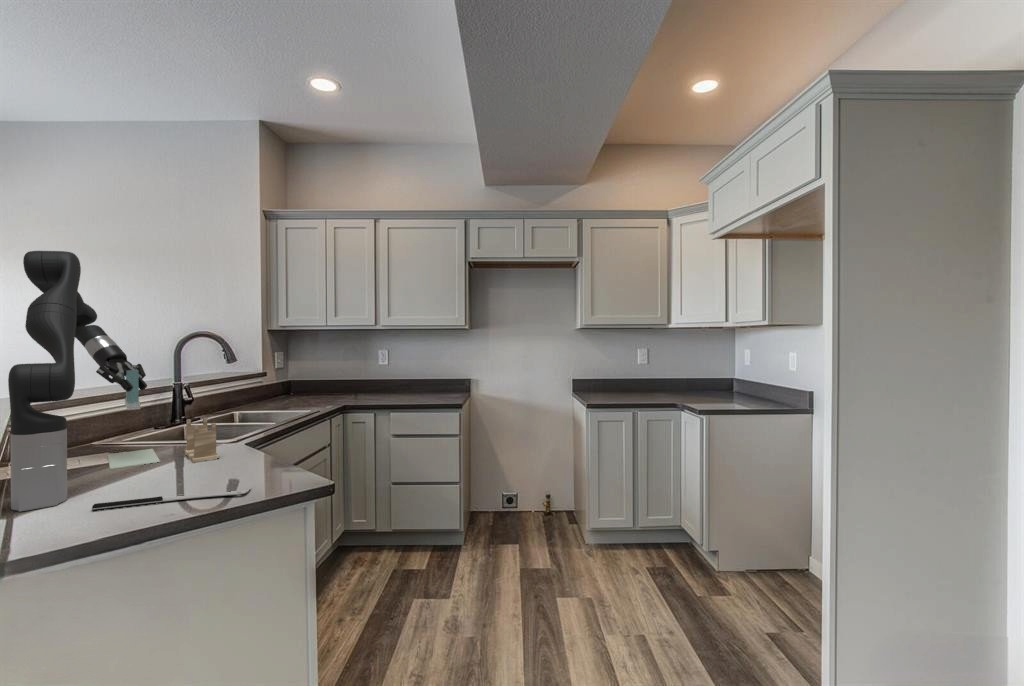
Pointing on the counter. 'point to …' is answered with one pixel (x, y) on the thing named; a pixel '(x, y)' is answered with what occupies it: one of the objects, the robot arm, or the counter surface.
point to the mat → (132, 458)
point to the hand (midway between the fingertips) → (137, 388)
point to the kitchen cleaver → (157, 500)
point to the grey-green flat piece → (133, 395)
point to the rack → (200, 441)
